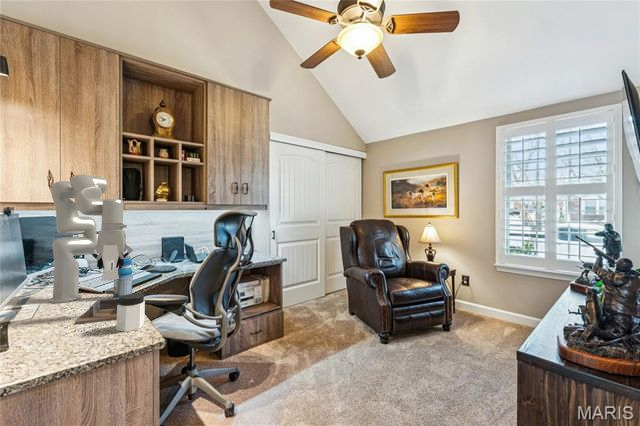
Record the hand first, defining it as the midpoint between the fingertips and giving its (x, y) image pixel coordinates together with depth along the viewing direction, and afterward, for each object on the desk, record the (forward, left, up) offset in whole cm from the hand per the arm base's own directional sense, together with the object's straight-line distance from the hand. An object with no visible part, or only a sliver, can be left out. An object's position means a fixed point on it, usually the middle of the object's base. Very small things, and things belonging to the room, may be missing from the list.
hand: (110, 268), depth 123 cm
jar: (+21, +11, -20) cm, 31 cm away
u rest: (-1, 0, -20) cm, 20 cm away
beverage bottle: (-30, 0, -20) cm, 36 cm away
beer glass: (0, 0, -5) cm, 5 cm away
